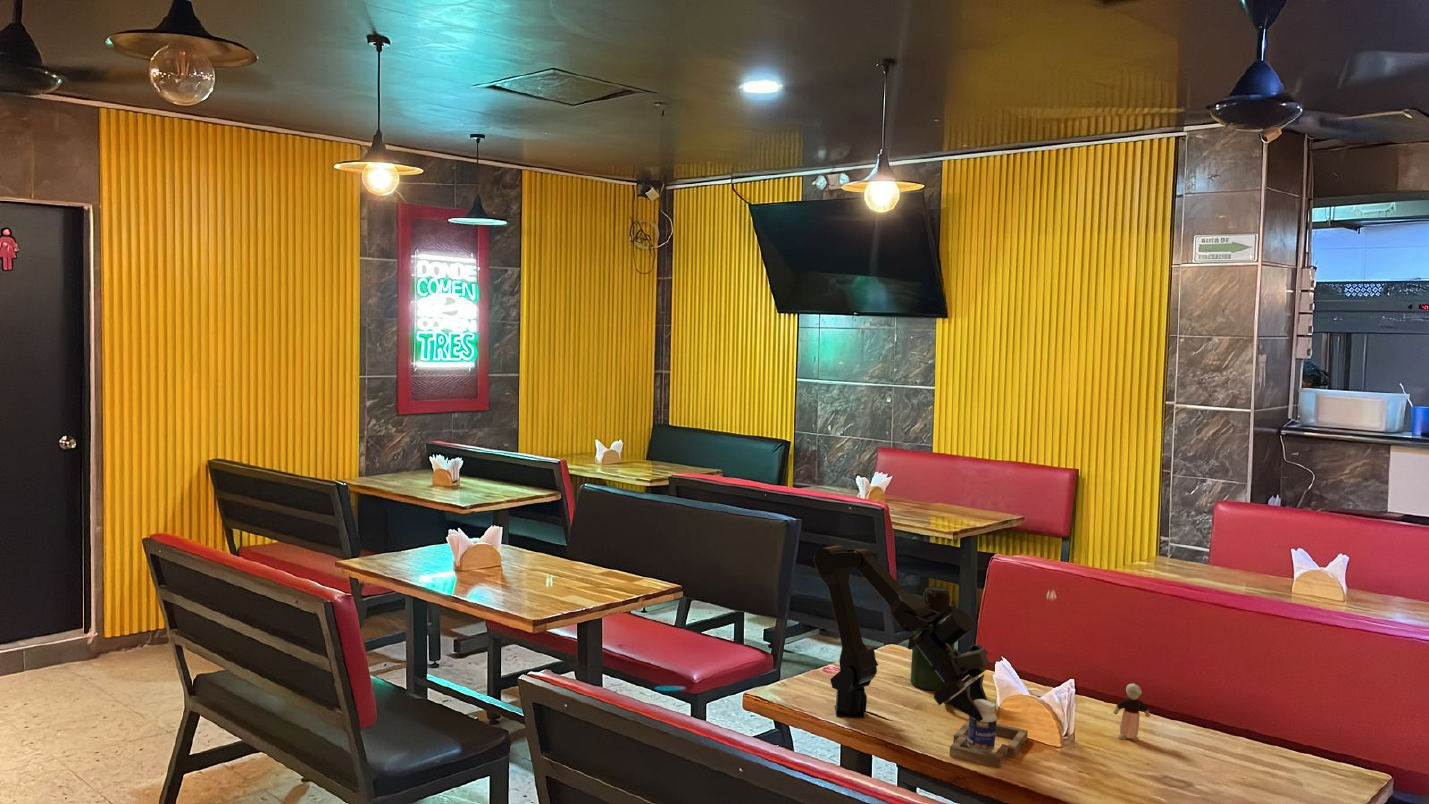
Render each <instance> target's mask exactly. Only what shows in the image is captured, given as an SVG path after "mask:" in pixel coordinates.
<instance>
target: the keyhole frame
mask: <svg viewBox="0 0 1429 804" xmlns="http://www.w3.org/2000/svg"><path fill="white" fill-rule="evenodd" d="M968 726H969V719H968V720H966V721H965V723H964V724H963V725H962V726H961V727H960V728H959V729H958V730H957V731H956V732H955V733H954V734H953V741H952V744H951V745H950V747H949V757H951V756H952V757H953V758H956V759H961V760H963V761H967V762H968V761H969V762H972V763H975V764H976V763H977V764H981V765H985V766H989V767H994V768H998V769H999V768H1000V767H1001V766H1002V765H1003V763H1004V762H1005V761H1006V759H1007V758H1009V759H1010V758H1011V759H1014V758H1015V756H1016V755H1017V754H1018V752H1019V751H1020V750H1021V748H1022V747H1023V746H1024V744H1025V743H1026V742H1027V740H1028V730H1027V729H1023V728H1018V727H1015V726H1014V727H1013V726H1008V725H1006V724H1005V725H1003V724H1000V723H996V734H995V736H1001V737H1006V738H1009V739H1012V740H1011V741H1010V742H1009V744H1004V743H1002V744H1001V745H1000V746H999V748H998V749H997V750H996V751H994V750H993V751H991V752H981V751H977V750H973V749H970V748H969V747H968V745H967V738H968ZM1003 761H1004V762H1003ZM1001 764H1002V765H1001Z"/></svg>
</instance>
